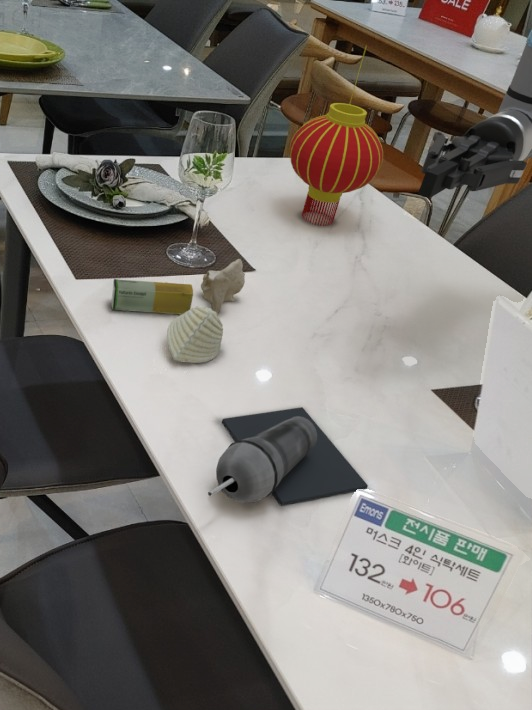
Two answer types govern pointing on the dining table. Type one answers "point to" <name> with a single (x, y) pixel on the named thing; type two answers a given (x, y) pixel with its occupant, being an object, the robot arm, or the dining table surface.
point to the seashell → (195, 335)
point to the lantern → (335, 156)
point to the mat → (302, 460)
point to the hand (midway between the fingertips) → (427, 184)
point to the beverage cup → (263, 460)
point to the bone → (223, 284)
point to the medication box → (151, 296)
